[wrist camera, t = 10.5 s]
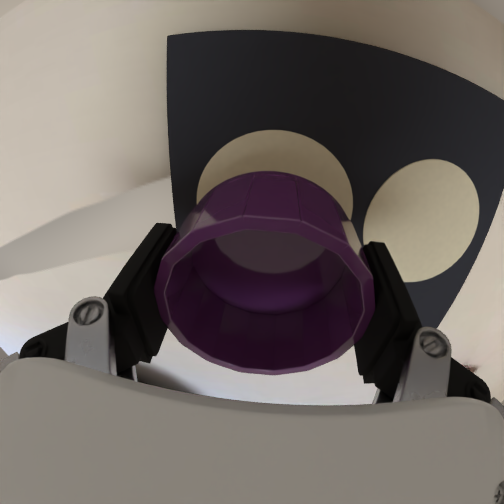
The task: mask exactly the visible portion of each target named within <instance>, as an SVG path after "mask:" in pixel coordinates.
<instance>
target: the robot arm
mask: <svg viewBox="0 0 504 504" xmlns="http://www.w3.org/2000/svg"><path fill="white" fill-rule="evenodd" d="M176 234H177V230H176V228H173V227H172V225H171V224H166V223H156V224H155V225H154V227H153V228H152V229H151V231H150V232H149V233H148V235H147V236H146V237H145V239H144V240H143V241H142V243H141V244H140V245H139V247H138V248H137V249H136V251H135V252H134V254H133V255H132V256H131V257H130V259H129V260H128V262H127V263H126V265H125V266H124V267H123V269H122V270H121V272H120V273H119V275H118V276H117V278H116V279H115V281H114V282H113V284H112V285H111V287H110V288H109V290H108V291H107V293H106V294H105V296H104V297H103V299H102V298H101V297H96V296H95V297H88V298H84V299H82V300H81V301H79V302H78V303H77V304H75V305H74V307H73V308H72V309H71V312H70V315H69V322H67V323H65V324H62V325H60V326H58V327H55V328H53V329H51V330H49V331H46V332H44V333H42V334H40V335H37V336H35V337H33V338H31V339H29V340H28V341H27V342H26V343H25V344H24V345H23V347H22V348H21V351H20V354H18V352H16V353H14V354H12V355H10V356H8V357H6V358H4V359H3V360H0V504H504V406H503V405H502V404H501V403H500V402H499V401H498V400H497V399H495V398H494V397H493V398H492V399H491V395H490V391H489V388H488V386H487V385H486V383H485V382H484V381H483V380H482V379H480V378H479V377H478V376H476V375H475V374H474V373H472V372H471V371H469V370H468V369H467V368H465V367H464V366H463V365H461V364H460V363H458V362H457V361H456V360H454V359H453V358H452V357H451V344H450V342H449V340H448V338H447V337H446V335H445V334H443V333H442V332H441V331H440V330H438V329H436V328H433V327H422V324H421V322H420V319H419V317H418V314H417V312H416V309H415V307H414V304H413V302H412V300H411V297H410V295H409V293H408V290H407V288H406V286H405V284H404V281H403V280H402V277H401V275H400V273H399V271H398V269H397V267H396V265H395V263H394V261H393V258H392V256H391V254H390V252H389V250H388V248H387V246H386V244H385V243H383V242H375V241H370V242H369V243H368V245H367V244H365V245H364V247H363V252H364V254H365V257H366V259H367V262H368V265H369V267H370V270H371V273H372V276H373V281H374V292H375V305H376V309H375V312H374V314H373V316H372V318H371V320H370V323H369V325H368V327H367V329H366V331H365V333H364V335H363V337H362V338H361V339H360V340H359V341H358V342H357V343H356V344H354V347H355V353H356V359H357V366H358V372H359V375H363V380H364V384H365V383H375V386H376V387H377V388H378V389H377V391H376V394H375V397H374V400H373V402H372V404H364V405H333V406H319V405H286V404H270V403H258V402H248V401H239V400H231V399H223V398H216V397H210V396H203V395H197V394H192V393H186V392H181V391H176V390H171V389H166V388H162V387H157V386H153V385H149V384H145V383H141V382H137V375H136V367H135V365H137V364H138V363H139V361H142V362H146V363H150V362H151V359H152V356H156V355H157V354H158V352H159V349H160V346H161V344H162V341H163V339H164V336H165V333H166V331H167V328H168V327H167V326H166V325H165V324H164V322H163V321H162V319H161V317H160V313H159V309H158V306H157V302H156V298H155V294H154V289H153V288H154V284H155V280H156V277H157V273H158V270H159V266H160V263H161V259H162V257H163V256H164V254H165V252H166V251H167V249H168V247H169V246H170V244H171V242H172V241H173V239H174V237H175V236H176Z"/></svg>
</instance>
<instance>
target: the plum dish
mask: <svg viewBox="0 0 504 504" xmlns="http://www.w3.org/2000/svg"><path fill="white" fill-rule="evenodd" d="M153 289H154V294H155V298H156V302H157V306H158V309H159V313H160V317H161V319H162V321H163V322H164V324H165V325H166V326H167V327H168V329H169V330H170V331H171V332H172V334H173V335H174V336H175V337H176V338H177V340H178V341H179V342H180V343H181V344H182V345H184V346H185V347H187V348H188V349H190V350H191V351H193V352H194V353H196V354H197V355H199V356H200V357H202V358H204V359H205V360H207V361H209V362H211V363H214V364H217V365H220V366H223V367H226V368H229V369H232V370H235V371H238V372H243V373H253V374H264V375H281V374H289V373H296V372H303V371H307V370H311V369H314V368H316V367H318V366H321V365H323V364H326V363H328V362H330V361H333V360H335V359H337V358H339V357H340V356H341V355H343V354H344V353H345V352H346V351H347V350H349V349H350V348H351V347H352V346H353V345H354V344H356V343H357V342H358V341H359V340H360V339H361V338H362V337H363V335H364V333H365V331H366V329H367V327H368V325H369V323H370V320H371V318H372V316H373V314H374V312H375V309H376V305H375V292H374V281H373V276H372V273H371V270H370V267H369V265H368V262H367V259H366V257H365V254H364V252H363V249H362V246H361V244H360V241H359V239H358V236H357V234H356V232H355V229H354V227H353V224H352V222H351V221H350V220H349V218H348V217H347V215H346V213H345V211H344V210H343V208H342V207H341V205H340V204H339V203H338V202H337V201H336V199H335V198H334V197H333V196H332V195H331V194H329V193H328V192H327V191H326V190H325V189H323V188H322V187H320V186H319V185H317V184H316V183H314V182H312V181H310V180H308V179H305V178H303V177H301V176H297V175H294V174H290V173H285V172H278V171H257V172H249V173H245V174H241V175H237V176H235V177H232V178H230V179H227V180H225V181H224V182H222V183H220V184H218V185H217V186H215V187H214V188H213V189H211V190H210V191H209V192H208V193H207V194H206V195H205V196H204V197H203V198H202V199H201V200H200V201H199V203H198V204H197V205H196V206H195V207H194V208H193V209H192V210H191V212H190V213H189V215H188V216H187V218H186V220H185V221H184V223H183V224H182V226H181V228H180V229H179V231H178V232H177V234H176V236H175V237H174V239H173V241H172V242H171V244H170V246H169V247H168V249H167V251H166V252H165V254H164V256H163V257H162V259H161V263H160V266H159V270H158V273H157V277H156V280H155V284H154V288H153Z"/></svg>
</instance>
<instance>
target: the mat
mask: <svg viewBox="0 0 504 504" xmlns="http://www.w3.org/2000/svg"><path fill="white" fill-rule="evenodd" d="M167 117H168V139H169V156H170V170H171V182H172V193H173V204H174V213H175V221H176V230H177V232H178V231H179V229H180V228H181V226H182V224H183V223H184V221H185V220H186V218H187V216H188V215H189V213H190V212H191V210H192V209H193V208H194V207H195V206H196V205H197V204H198V203H199V201H200V200H201V199H202V198H203V197H204V196H205V195H206V194H207V193H208V192H209V191H210V190H211V189H213V188H214V187H215V186H217V185H218V184H220V183H222V182H224V181H225V180H227V179H230V178H232V177H235V176H237V175H241V174H245V173H249V172H257V171H278V172H285V173H290V174H294V175H297V176H301V177H303V178H305V179H308V180H310V181H312V182H314V183H316V184H317V185H319V186H320V187H322V188H323V189H325V190H326V191H327V192H328V193H329V194H331V195H332V196H333V197H334V198H335V199H336V201H337V202H338V203H339V204H340V205H341V207H342V208H343V210H344V211H345V213H346V215H347V217H348V218H349V220H350V221H351V222H352V224H353V227H354V229H355V232H356V234H357V236H358V239H359V241H360V244H361V246H362V249H363V247H364V245H365V244H367V245H368V243H369V242H370V241H375V242H383V243H385V244H386V246H387V248H388V250H389V252H390V254H391V256H392V258H393V261H394V263H395V265H396V267H397V269H398V271H399V273H400V275H401V277H402V280H403V281H404V284H405V286H406V288H407V290H408V293H409V295H410V297H411V300H412V302H413V304H414V307H415V309H416V312H417V314H418V317H419V319H420V322H421V324H422V327H433V328H436V329H437V327H438V326H439V324H440V323H441V321H442V319H443V318H444V316H445V315H446V313H447V311H448V310H449V308H450V307H451V305H452V303H453V301H454V300H455V298H456V296H457V295H458V293H459V291H460V289H461V287H462V286H463V284H464V282H465V280H466V278H467V276H468V274H469V272H470V270H471V268H472V266H473V264H474V262H475V260H476V258H477V256H478V254H479V252H480V249H481V247H482V245H483V243H484V240H485V238H486V236H487V233H488V231H489V228H490V226H491V223H492V221H493V218H494V215H495V213H496V210H497V207H498V204H499V201H500V198H501V195H502V192H503V189H504V100H502V99H501V98H499V97H497V96H496V95H494V94H492V93H490V92H489V91H487V90H485V89H483V88H481V87H479V86H478V85H476V84H474V83H472V82H470V81H468V80H466V79H464V78H462V77H459V76H457V75H455V74H453V73H451V72H448V71H446V70H444V69H441V68H439V67H436V66H434V65H431V64H429V63H426V62H423V61H421V60H418V59H415V58H412V57H409V56H406V55H403V54H400V53H397V52H394V51H390V50H387V49H383V48H379V47H376V46H372V45H368V44H363V43H359V42H354V41H350V40H345V39H339V38H334V37H327V36H321V35H314V34H305V33H296V32H284V31H267V30H223V31H206V32H194V33H185V34H177V35H170V36H167Z"/></svg>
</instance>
